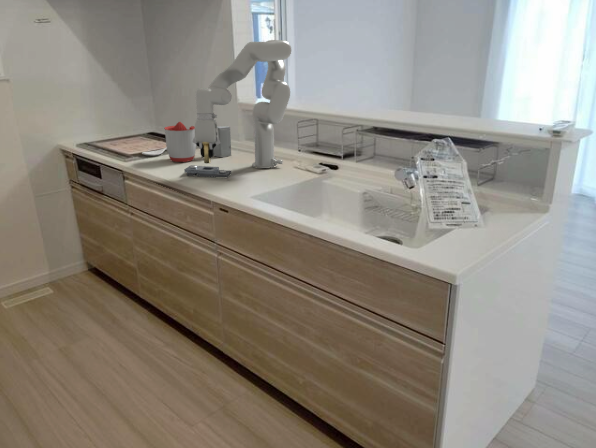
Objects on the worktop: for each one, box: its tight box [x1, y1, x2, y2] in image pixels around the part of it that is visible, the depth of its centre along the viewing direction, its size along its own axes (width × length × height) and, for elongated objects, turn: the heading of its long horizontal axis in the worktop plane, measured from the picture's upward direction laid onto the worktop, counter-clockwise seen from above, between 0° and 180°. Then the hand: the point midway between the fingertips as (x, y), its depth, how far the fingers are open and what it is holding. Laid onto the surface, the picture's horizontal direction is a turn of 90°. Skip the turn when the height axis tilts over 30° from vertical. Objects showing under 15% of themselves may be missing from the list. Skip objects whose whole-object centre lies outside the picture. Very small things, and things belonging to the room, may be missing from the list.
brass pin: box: [202, 142, 212, 164], centre depth 225 cm, size 4×4×10 cm
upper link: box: [183, 164, 220, 177], centre depth 228 cm, size 14×8×4 cm, turn 81°
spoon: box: [141, 145, 198, 157], centre depth 272 cm, size 9×32×4 cm, turn 138°
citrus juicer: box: [164, 121, 197, 163], centre depth 253 cm, size 16×17×20 cm
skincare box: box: [213, 125, 232, 158], centre depth 265 cm, size 8×7×16 cm
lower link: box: [196, 169, 232, 178], centre depth 228 cm, size 14×8×2 cm, turn 81°
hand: (207, 156), depth 226 cm, fingers closed on brass pin, 3 cm apart
